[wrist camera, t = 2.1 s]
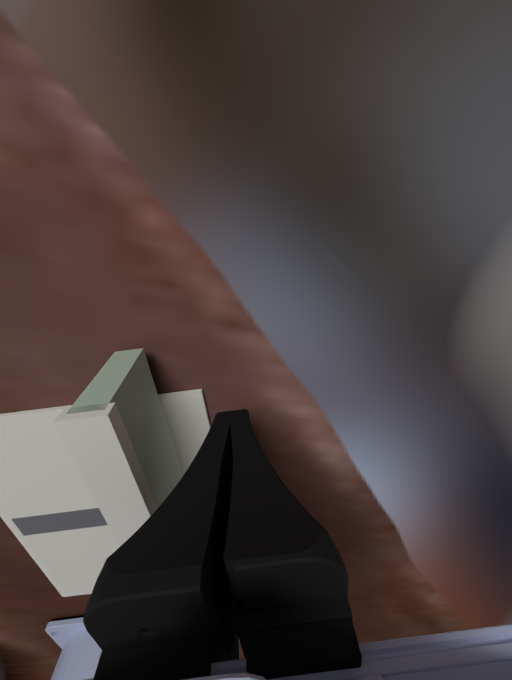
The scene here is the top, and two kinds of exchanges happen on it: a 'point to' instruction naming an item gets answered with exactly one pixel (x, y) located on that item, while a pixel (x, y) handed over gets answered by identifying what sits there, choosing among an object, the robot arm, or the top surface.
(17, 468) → the card
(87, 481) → the pale green long block
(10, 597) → the top surface
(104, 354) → the top surface
